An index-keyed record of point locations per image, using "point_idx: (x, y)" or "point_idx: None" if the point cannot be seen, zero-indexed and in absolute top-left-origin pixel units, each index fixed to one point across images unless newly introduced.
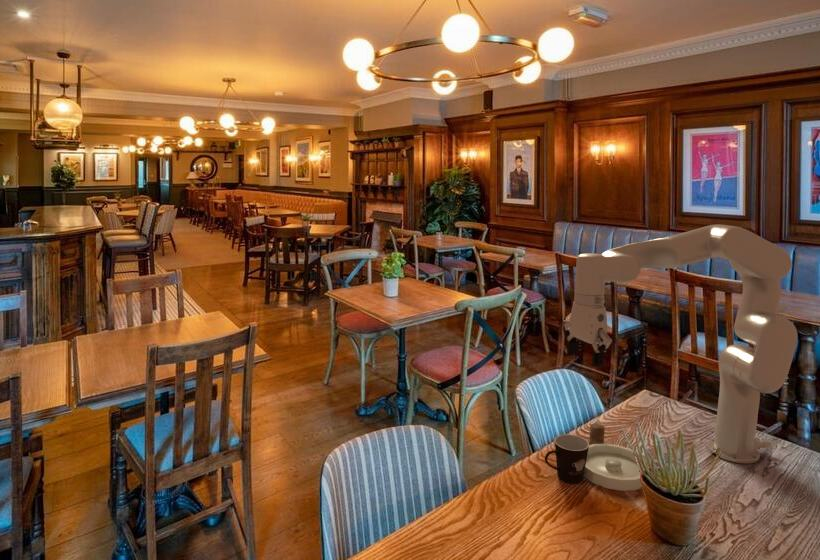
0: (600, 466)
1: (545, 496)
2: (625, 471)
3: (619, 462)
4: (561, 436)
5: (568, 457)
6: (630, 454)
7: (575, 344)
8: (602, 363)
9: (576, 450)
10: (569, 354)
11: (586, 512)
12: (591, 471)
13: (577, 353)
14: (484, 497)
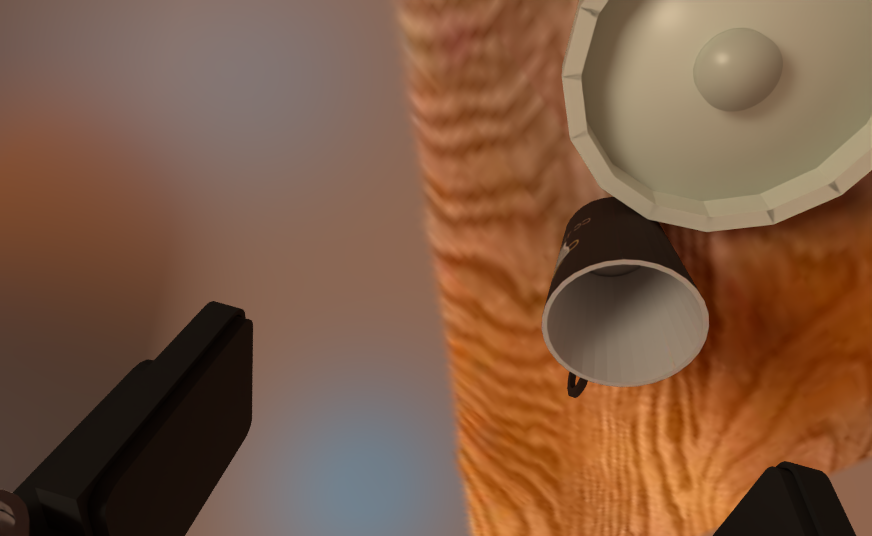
0: (677, 102)
1: None
2: (797, 45)
3: (767, 49)
4: (550, 305)
5: (643, 355)
6: None
7: (148, 503)
8: (827, 500)
9: (679, 369)
10: (240, 436)
11: (759, 356)
12: (696, 228)
13: (247, 333)
14: (501, 460)
